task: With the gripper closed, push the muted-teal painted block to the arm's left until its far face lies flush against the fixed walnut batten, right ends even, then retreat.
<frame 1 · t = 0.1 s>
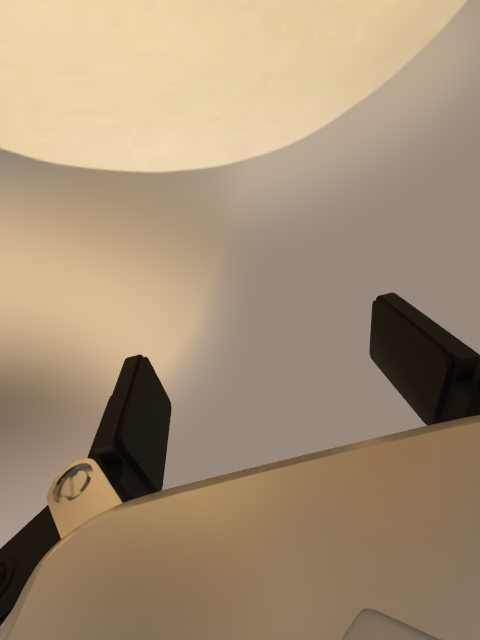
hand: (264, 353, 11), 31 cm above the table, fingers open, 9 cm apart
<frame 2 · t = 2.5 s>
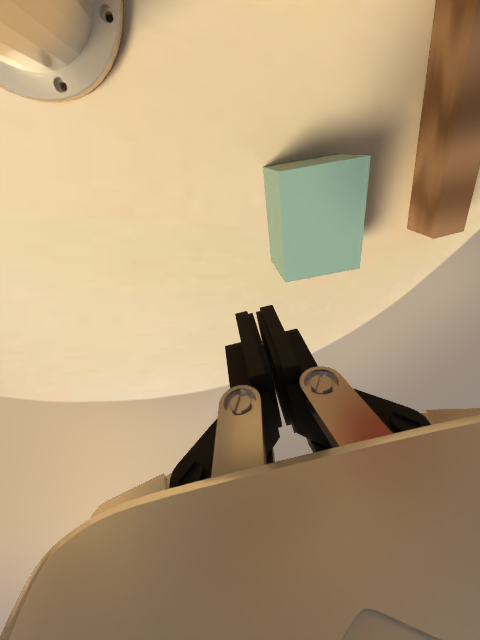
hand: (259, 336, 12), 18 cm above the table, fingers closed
batten: (437, 113, 24), on the table
block: (300, 211, 28), on the table
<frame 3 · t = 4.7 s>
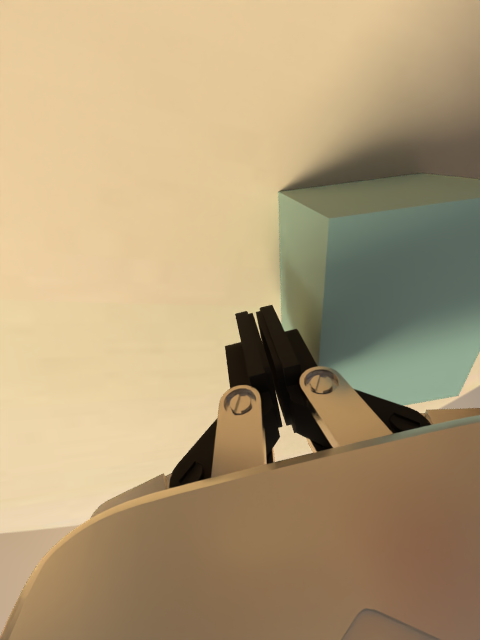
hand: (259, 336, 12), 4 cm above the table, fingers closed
block: (340, 270, 15), on the table, touching gripper
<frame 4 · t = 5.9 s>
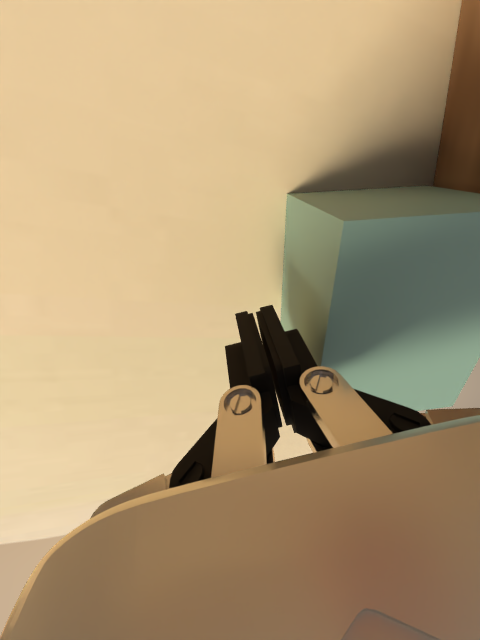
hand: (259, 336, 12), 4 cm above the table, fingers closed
batten: (473, 128, 12), on the table
block: (342, 276, 15), on the table, touching gripper
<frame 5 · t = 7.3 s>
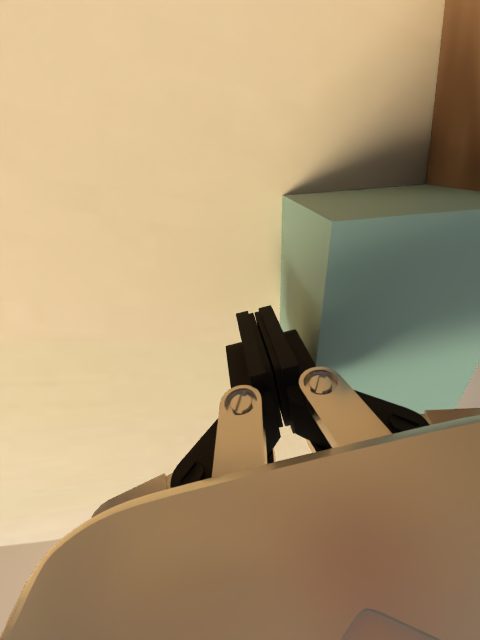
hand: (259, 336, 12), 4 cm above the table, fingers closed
batten: (464, 127, 12), on the table
block: (341, 277, 15), on the table, touching batten, gripper
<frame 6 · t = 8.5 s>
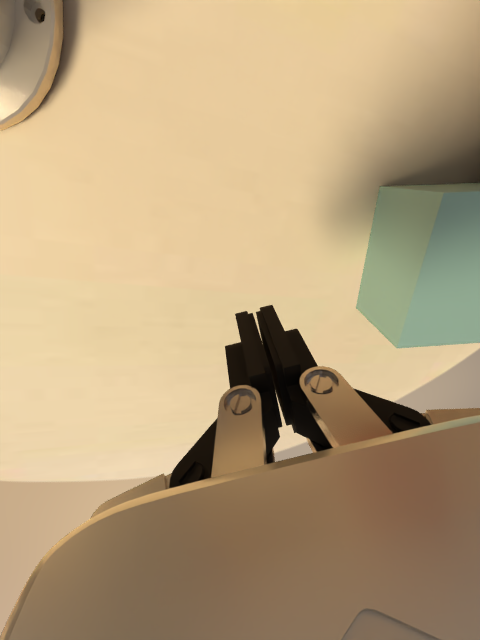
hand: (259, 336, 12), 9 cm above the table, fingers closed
block: (410, 250, 21), on the table
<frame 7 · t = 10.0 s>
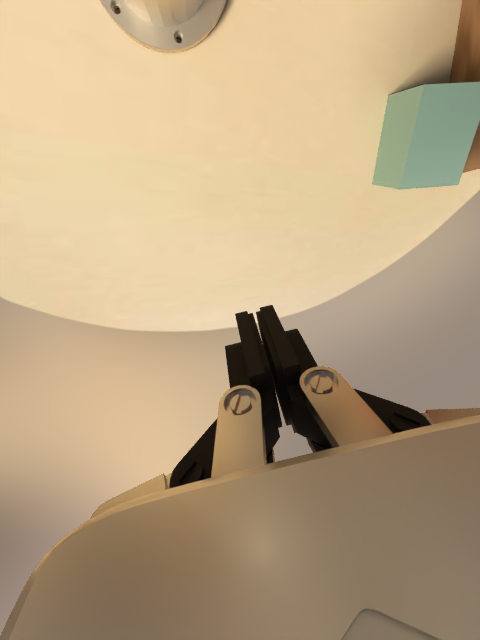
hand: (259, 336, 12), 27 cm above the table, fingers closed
batten: (464, 67, 30), on the table
block: (406, 141, 33), on the table
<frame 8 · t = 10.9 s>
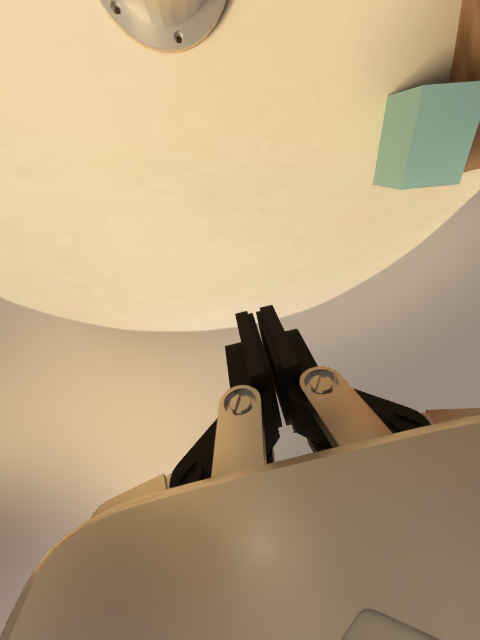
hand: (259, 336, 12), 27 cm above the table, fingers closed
batten: (464, 67, 30), on the table
block: (406, 141, 33), on the table
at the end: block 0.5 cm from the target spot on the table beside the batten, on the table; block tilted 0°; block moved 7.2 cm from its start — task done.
